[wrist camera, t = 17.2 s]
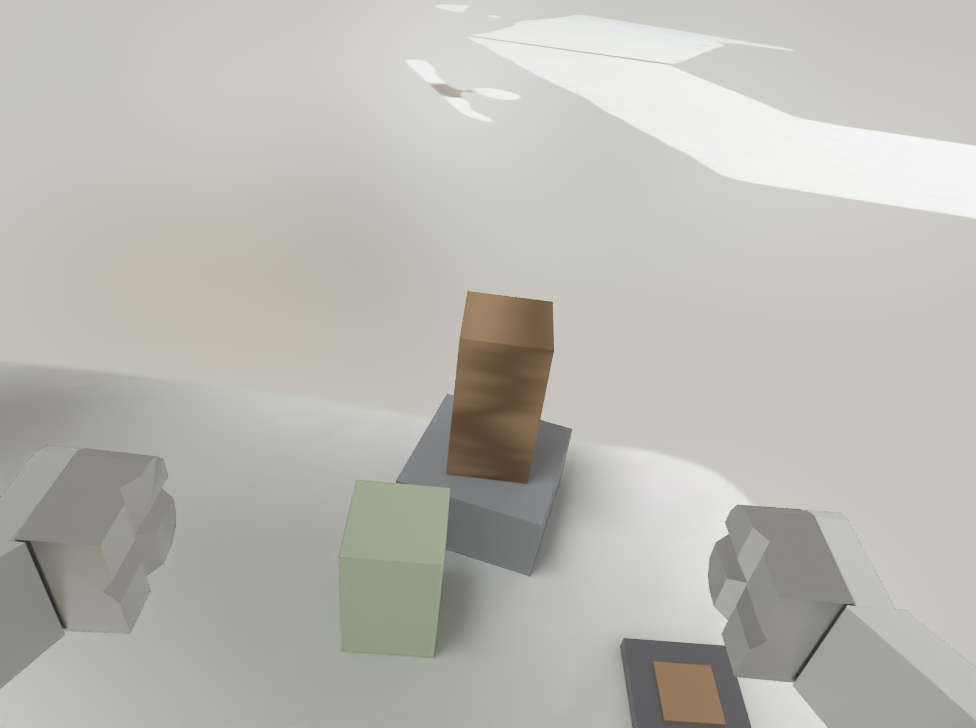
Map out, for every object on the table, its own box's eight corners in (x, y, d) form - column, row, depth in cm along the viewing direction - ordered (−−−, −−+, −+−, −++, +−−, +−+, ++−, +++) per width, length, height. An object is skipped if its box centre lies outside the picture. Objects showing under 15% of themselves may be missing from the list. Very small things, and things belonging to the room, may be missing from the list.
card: (637, 756, 35) (641, 746, 34) (620, 646, 40) (624, 636, 39) (754, 764, 35) (760, 754, 35) (723, 654, 40) (729, 644, 40)
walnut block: (446, 473, 43) (459, 338, 37) (453, 420, 47) (467, 291, 41) (527, 483, 43) (553, 350, 37) (528, 429, 47) (552, 301, 41)
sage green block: (341, 651, 38) (338, 556, 33) (356, 574, 42) (356, 480, 37) (433, 658, 38) (444, 564, 33) (440, 580, 42) (450, 488, 37)
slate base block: (394, 535, 45) (396, 480, 42) (442, 446, 52) (447, 393, 49) (529, 579, 43) (541, 525, 40) (559, 480, 50) (572, 429, 47)
